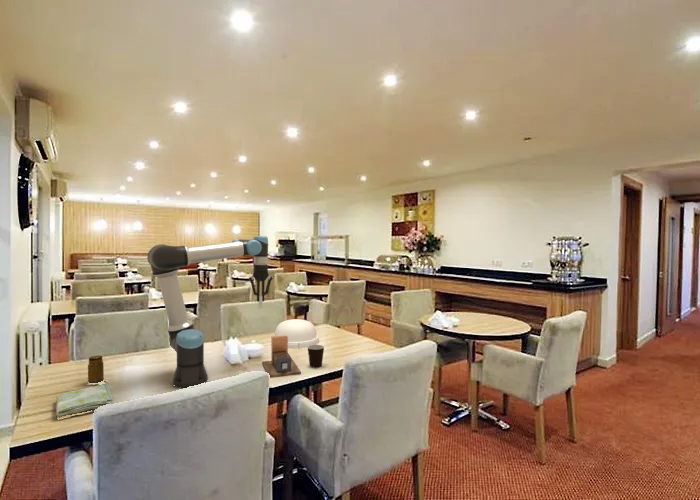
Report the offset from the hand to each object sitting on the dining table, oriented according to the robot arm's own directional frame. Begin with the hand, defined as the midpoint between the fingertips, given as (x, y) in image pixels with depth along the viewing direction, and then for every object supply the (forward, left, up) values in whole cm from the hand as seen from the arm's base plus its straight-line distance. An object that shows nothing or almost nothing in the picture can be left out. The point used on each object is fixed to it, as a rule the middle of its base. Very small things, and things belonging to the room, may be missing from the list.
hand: (260, 307), depth 216 cm
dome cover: (+26, +31, -30) cm, 50 cm away
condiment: (-75, -9, -29) cm, 81 cm away
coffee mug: (+27, -17, -29) cm, 44 cm away
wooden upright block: (+8, -20, -28) cm, 35 cm away
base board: (+8, -17, -29) cm, 35 cm away
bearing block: (+8, -21, -28) cm, 36 cm away
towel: (-74, -35, -30) cm, 87 cm away
